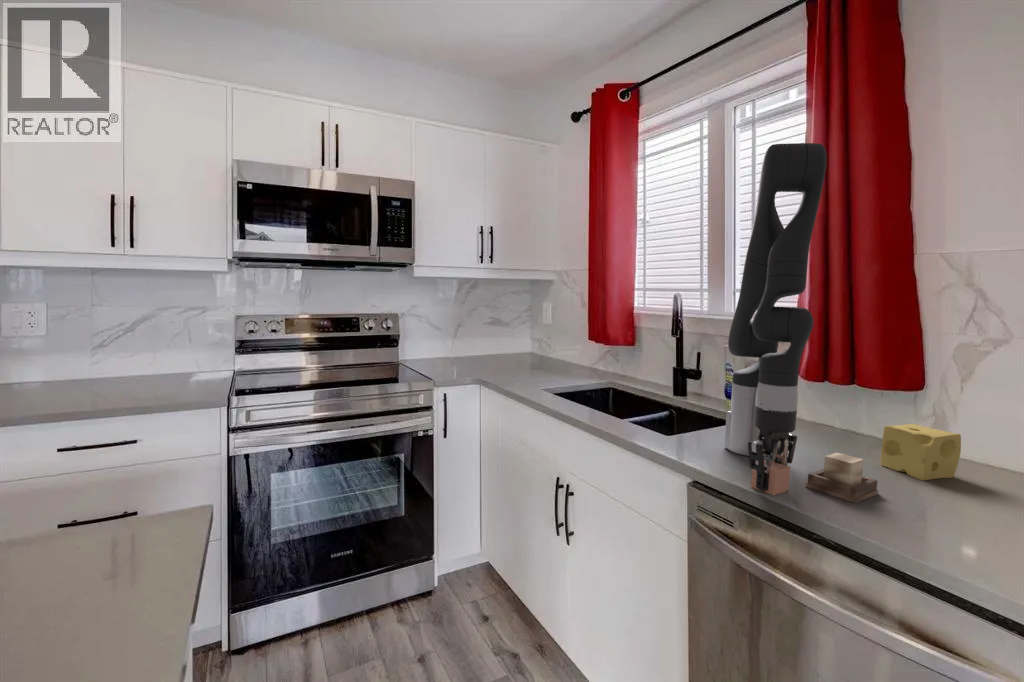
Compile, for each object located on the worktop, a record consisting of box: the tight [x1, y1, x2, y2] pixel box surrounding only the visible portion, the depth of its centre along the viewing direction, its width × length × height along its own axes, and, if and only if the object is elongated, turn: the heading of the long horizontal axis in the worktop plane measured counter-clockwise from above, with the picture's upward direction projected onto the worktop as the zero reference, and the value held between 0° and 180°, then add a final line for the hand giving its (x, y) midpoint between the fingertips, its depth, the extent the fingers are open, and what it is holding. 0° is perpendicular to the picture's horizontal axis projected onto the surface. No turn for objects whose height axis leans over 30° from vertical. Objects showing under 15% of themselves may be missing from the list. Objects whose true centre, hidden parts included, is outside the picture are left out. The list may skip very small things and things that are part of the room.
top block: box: [750, 460, 791, 496], centre depth 104 cm, size 5×5×5 cm
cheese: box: [880, 423, 962, 482], centre depth 117 cm, size 10×11×10 cm
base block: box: [823, 452, 865, 486], centre depth 104 cm, size 5×5×6 cm
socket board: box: [805, 468, 879, 504], centre depth 104 cm, size 10×10×3 cm
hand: (769, 486), depth 104 cm, fingers closed on top block, 5 cm apart
